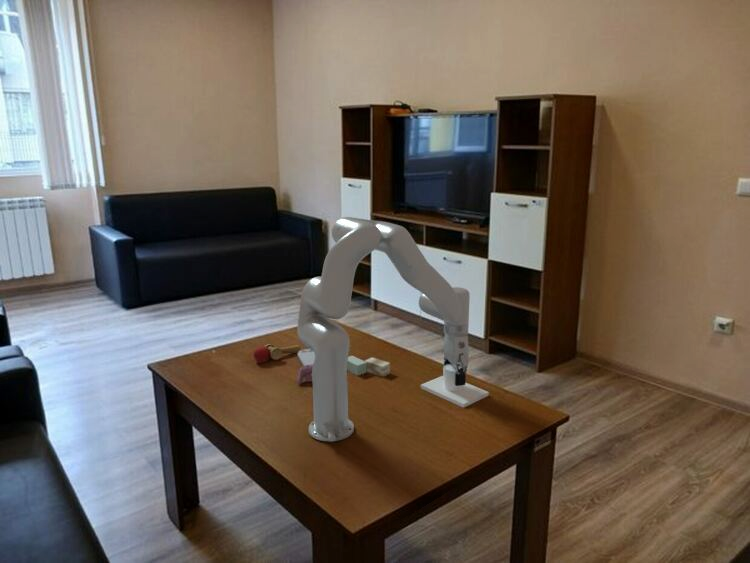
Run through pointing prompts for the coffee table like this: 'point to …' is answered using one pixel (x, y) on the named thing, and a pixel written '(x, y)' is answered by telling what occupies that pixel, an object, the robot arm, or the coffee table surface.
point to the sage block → (356, 365)
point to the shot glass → (450, 378)
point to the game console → (306, 356)
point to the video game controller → (305, 373)
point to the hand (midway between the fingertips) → (454, 378)
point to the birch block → (378, 366)
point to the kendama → (272, 352)
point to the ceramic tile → (460, 398)
